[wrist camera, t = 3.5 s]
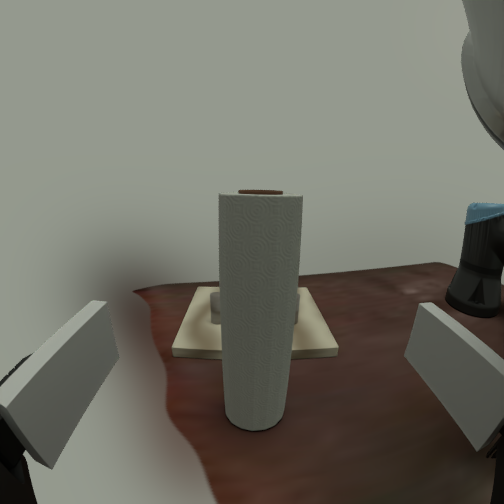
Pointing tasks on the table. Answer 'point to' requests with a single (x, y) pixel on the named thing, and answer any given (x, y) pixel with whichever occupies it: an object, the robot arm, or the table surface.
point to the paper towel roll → (258, 301)
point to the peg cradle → (209, 328)
